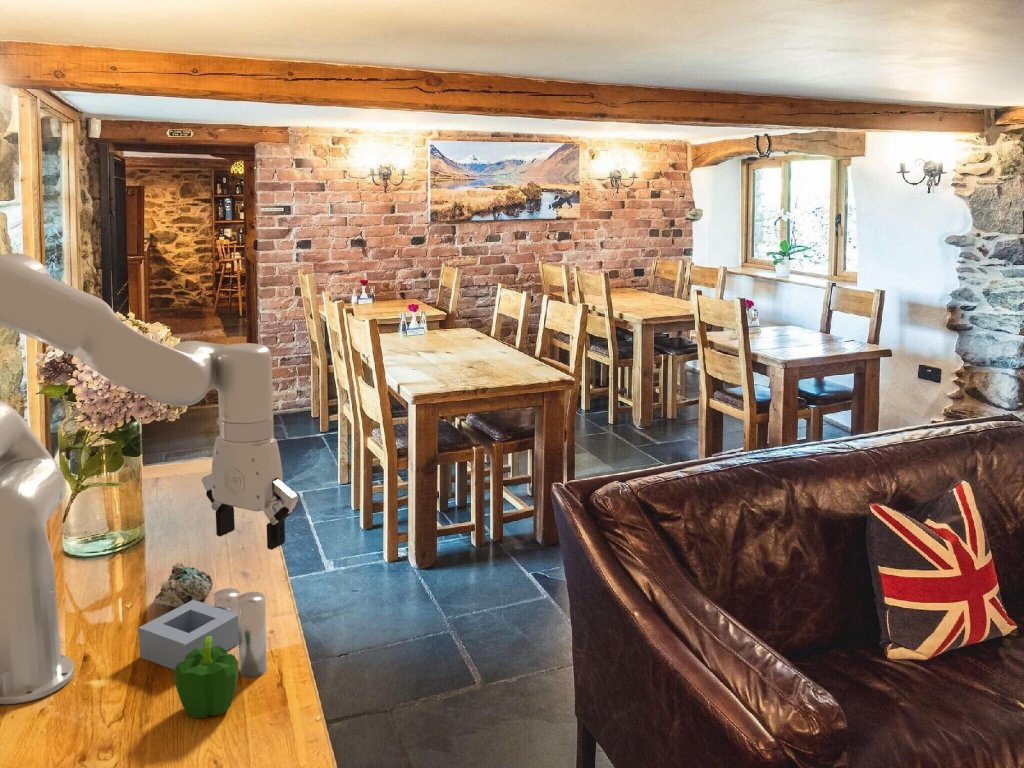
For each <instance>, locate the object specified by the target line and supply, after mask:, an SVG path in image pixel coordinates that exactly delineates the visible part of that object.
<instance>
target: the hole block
mask: <svg viewBox="0 0 1024 768" xmlns="http://www.w3.org/2000/svg"><path fill="white" fill-rule="evenodd" d="M207 636H211V637H212V642H211V647H214V646H217V645H219V646H220V647H221V648H223V649H224V650H226V652H228V651H229V650H230V649H232V648H234V647H235V646H239V638H238V614H235V613H232V612H229V611H226V610H223V609H220V608H217V607H215V605H214V606H213V605H211V604H208V603H205V602H202V601H200V602H199V601H196V600H192V601H190V602H188V603H186V604H184V605H182V606H180V607H178V608H174V609H172V610H170V611H168V612H166V613H164V614H162V615H160V616H159V617H156V618H154V619H152V620H151V621H148V622H147V623H145V624H143V625H141V626H138V642H139V644H138V645H139V657H140V658H142V659H144V660H147V661H150V662H152V663H155V664H157V665H160V666H162V667H165V668H168V669H171V670H173V671H174V670H175V668H176V666H177V664H178V663H179V662H181V661H184V660H185V657H186V655H187V654H188V653H189V652H191V651H192V650H193V649H194V648H202V649H203V648H204V641H205V638H206V637H207Z"/></svg>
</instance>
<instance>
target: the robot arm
mask: <svg viewBox="0 0 1024 768" xmlns="http://www.w3.org/2000/svg"><path fill="white" fill-rule="evenodd" d="M0 326H1V327H5V328H7V329H9V330H12V331H14V332H17V333H18V334H22V335H24V336H27V337H29V338H32V339H34V340H36V341H39V342H41V343H43V344H45V345H48V346H50V347H53V348H55V349H58V350H60V351H62V352H65V353H67V354H69V355H71V356H73V357H75V358H77V359H78V360H79V361H80V362H82V364H84V365H86V367H89V368H90V369H92V370H94V371H95V372H97V373H98V374H100V375H101V376H103V377H104V378H106V379H107V380H109V381H111V382H112V383H114V384H116V385H119V386H121V387H123V388H124V389H127V390H129V391H131V392H133V393H135V394H136V393H137V394H139V395H141V396H144V397H146V398H149V399H151V400H154V401H156V402H159V403H161V404H165V405H169V406H174V407H189V406H193V405H194V404H197V403H199V402H200V401H202V399H204V398H205V396H206V395H207V394H208V393H209V391H211V390H216V391H217V395H218V396H217V397H218V398H217V399H218V401H217V403H218V417H217V419H216V421H215V422H216V424H217V426H219V435H217V436H216V437H215V441H214V444H213V451H212V461H211V473H209V474H207V475H206V476H202V478H201V482H202V485H203V487H204V490H205V491H206V493H205V494H206V497H207V499H208V500H209V501H210V503H211V509H212V511H215V531H216V536H217V537H223V536H225V535H227V534H230V533H232V532H234V531H235V529H236V528H235V527H236V526H235V508H238V509H243V510H247V511H251V512H262V511H263V513H264V515H265V517H266V518H267V519H268V521H269V523H266V547H267V549H268V550H274V549H277V548H278V547H280V546H282V545H284V544H285V543H286V530H285V529H286V526H285V522H286V521H285V520H287V519H288V518H289V517H290V515H291V514H292V513H294V511H295V507H296V505H297V503H298V501H299V496H298V495H297V493H295V492H294V491H292V489H291V488H289V487H288V486H287V485H285V484H284V481H283V478H284V477H283V469H282V468H283V467H282V459H281V454H280V449H279V445H278V441H277V439H276V438H275V434H274V396H273V394H274V392H273V390H274V389H273V388H274V387H273V360H272V359H273V358H272V353H271V350H270V349H269V348H268V347H267V346H265V345H263V344H259V343H250V342H241V343H240V342H239V343H231V344H224V343H223V344H222V343H214V342H206V341H200V340H185V341H182V342H179V343H176V344H175V345H173V346H172V347H170V346H168V345H165V344H163V343H162V342H158V341H156V340H154V339H152V338H149V336H148V337H147V336H146V335H143V334H142V333H139V332H138V331H136V330H134V329H132V328H131V327H129V326H128V325H127V324H126V323H124V322H123V321H122V320H121V319H120V318H119V316H117V314H116V313H115V312H114V310H113V309H112V308H111V306H110V305H109V304H108V303H107V302H106V301H104V300H103V299H102V298H100V297H97V296H95V295H93V294H91V293H88V292H86V291H83V290H81V289H80V288H76V287H74V286H72V285H71V284H67V283H65V282H63V281H60V280H59V279H56V278H54V277H51V275H50V272H49V270H48V269H47V268H46V267H45V266H44V264H43V263H41V262H40V261H39V260H38V259H35V258H34V257H33V256H30V255H26V254H23V253H16V252H15V253H13V252H12V253H11V252H10V253H4V254H0ZM66 485H67V484H66V479H65V476H64V473H63V471H62V470H61V468H60V466H59V464H58V463H57V462H56V460H55V458H54V457H53V456H52V455H51V454H50V452H49V451H48V449H46V446H44V444H43V443H42V442H41V440H40V439H39V438H38V436H37V435H36V434H35V432H34V430H32V428H31V427H30V426H29V424H28V423H27V422H26V421H25V419H24V418H23V417H22V416H21V414H20V413H19V412H18V411H17V410H16V409H14V408H13V407H12V406H11V405H10V404H8V403H6V402H5V401H3V400H1V399H0V705H14V704H21V703H22V704H23V703H26V702H27V703H28V702H31V701H32V702H33V701H36V700H39V699H41V698H44V697H47V696H49V695H51V694H53V693H54V692H56V691H59V690H60V689H62V688H63V687H64V686H66V684H68V683H69V682H70V680H71V679H72V678H73V676H74V673H75V664H74V662H73V660H72V659H71V658H70V657H68V656H67V655H64V654H62V650H61V639H60V638H61V637H60V625H59V614H58V613H59V612H58V611H59V610H58V601H57V589H56V577H55V567H54V557H53V553H52V552H53V551H52V547H51V544H50V541H49V538H48V532H47V523H48V521H49V520H50V518H51V517H52V514H53V513H54V512H55V511H56V510H57V509H58V508H59V506H60V504H62V501H63V500H64V497H65V494H66ZM282 501H283V503H282ZM273 508H274V509H273ZM274 510H275V511H276V512H275V511H274Z"/></svg>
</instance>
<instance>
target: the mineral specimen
mask: <svg viewBox="0 0 1024 768" xmlns="http://www.w3.org/2000/svg"><path fill="white" fill-rule="evenodd" d="M213 583H214V582H213V579H212V577H211V576H210V575H209V574H207V573H206V572H205V571H203V570H199V569H197V568H195V567H189V566H185V565H184V564H183V562H182V561H178V562H176V563H175V564H174V565H172V569H171V574H170V575H169V578H168V579H167V581H162V582H161V584H160V585H161V588H160V591H159V593H158V594H157V595H155V597H154V600H153V604H155V605H156V606H157V605H158V606H160V607H162V608H163V607H165V606H167V607H170V608H174V609H176V608H178V607H180V606H182V605H184V604H186V603H188V602H190V601H192V600H196V601H199V602H202V600H204V601H205V600H206V599H207V598H208V595H209V594H210V591H212V589H213Z"/></svg>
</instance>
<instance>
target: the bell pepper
mask: <svg viewBox="0 0 1024 768" xmlns="http://www.w3.org/2000/svg"><path fill="white" fill-rule="evenodd" d="M211 642H212V637H211V636H207V637H206V638H205V641H204V648H203V649H202V648H194V649H193V650H192V651H191V652H189V653H188V654H187V655H186V657H185V660H184V661H181V662H179V663H178V664H177V666H176V668H175V670H173V672H174V685H175V688H176V691H177V693H178V696H179V700H180V702H181V704H182V707H183V709H184V712H186V714H187V715H189V716H190V717H192V718H195V719H203V718H206V717H208V716H209V715H210V716H219V715H222V714H224V713H225V712H226V711H228V710H229V708H230V707H231V705H232V702H233V700H234V696H235V692H236V688H237V684H238V678H239V660H237V658H236V656H235V655H234V654H233V653H228V651H226V650H224V649H223V648H221V647H220V646H219V645H217V646H214V647H211Z"/></svg>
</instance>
